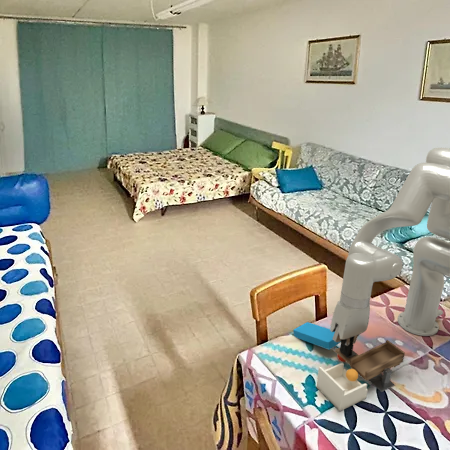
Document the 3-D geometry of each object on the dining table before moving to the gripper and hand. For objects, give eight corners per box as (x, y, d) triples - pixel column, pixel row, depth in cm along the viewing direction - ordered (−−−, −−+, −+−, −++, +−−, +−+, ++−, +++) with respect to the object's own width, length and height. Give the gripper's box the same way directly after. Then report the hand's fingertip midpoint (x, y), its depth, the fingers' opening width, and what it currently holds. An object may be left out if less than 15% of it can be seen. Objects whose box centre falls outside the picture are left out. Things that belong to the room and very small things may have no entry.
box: (341, 375, 113) (344, 356, 110) (366, 398, 106) (370, 377, 103) (316, 387, 109) (318, 367, 106) (339, 411, 102) (343, 390, 99)
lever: (295, 349, 130) (341, 368, 116) (293, 329, 129) (338, 346, 114) (310, 341, 134) (355, 358, 119) (307, 322, 133) (353, 336, 118)
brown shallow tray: (368, 339, 122) (370, 327, 120) (402, 365, 112) (405, 352, 110) (333, 355, 116) (334, 343, 114) (365, 384, 106) (367, 371, 104)
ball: (345, 367, 107) (341, 376, 108) (354, 374, 104) (350, 384, 105) (353, 365, 109) (350, 375, 109) (362, 373, 106) (358, 383, 107)
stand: (367, 362, 118) (369, 347, 116) (394, 385, 110) (398, 370, 108) (354, 368, 116) (357, 353, 114) (381, 392, 108) (384, 376, 105)
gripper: (364, 285, 113) (355, 338, 120) (324, 297, 106) (316, 353, 113) (385, 298, 107) (374, 353, 114) (343, 312, 100) (334, 370, 107)
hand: (345, 353), depth 113 cm, fingers closed
